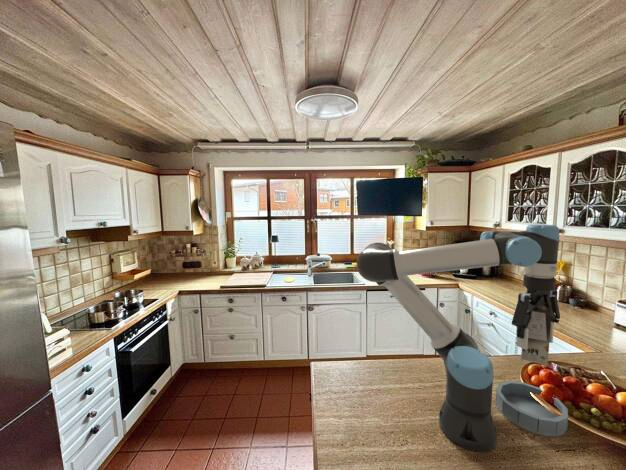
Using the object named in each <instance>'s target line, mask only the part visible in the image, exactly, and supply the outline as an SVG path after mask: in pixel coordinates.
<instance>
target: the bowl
mask: <svg viewBox="0 0 626 470" xmlns="http://www.w3.org/2000/svg"><path fill="white" fill-rule="evenodd" d="M541 389H542V388H541V387H538V386H535V385H532V384H530V383H526V382H522V381H514V380H506V381H503V382H499V383H497V386H496V393H495V403H496V404H495V405H496V407H497V409H498V411H499V412H500V414H501V415H503V417H504V418H506V419H507V420H508V421H509V422H511V423H512V424H514V425H516V426H518V427H519V428H521V429H523V430H525V431H527V432H529V433H532V434H535V435H539V436H543V437H547V438H549V437H550V438H557V437H560V436H561V437H562V436H563V435H564V434H566V432H567V430H568V423H569V422H568V421H569V414H568V413H569V411H568V407H567V406H566V405H565V404H564V403H563V402H562V401H561V400H560V399H559V398H558V397H556V398H554V397H552V398H553V399H554V405H555V406H556V407H557V408H558V409H559V410H560V411H561V412H562V415H561V416H557V415H555V414H553V413H551V412H550V411H548V410H547V409H546V408H545V407H544V406H542V405H541V404H540V403H539V402H538V401H536V400H535V399H534V398H533V397H532V396H531V394H530V392H532V393H534V394H537V395H539V394H541V392H542V390H541Z"/></svg>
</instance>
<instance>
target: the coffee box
mask: <svg viewBox="0 0 626 470" xmlns="http://www.w3.org/2000/svg"><path fill="white" fill-rule="evenodd" d="M529 304H530V303H529ZM529 311H532V314H531V320H530V322H529V324H528V326H527V328H528V329H529V333H528V348H527V350H525V349H523V348H521V352H520V353H521V355H520V359H521V360H524V361H527V362H531V363H535V364H539V365H541V366H545V367H547V366H548V363H549V351H550V342H549V341H550V329H551V316H552V313H551V308H550V307H546V306H542V305H541V306H539V307H538V309H537V310H529V309H528V310H527V313H528V312H529ZM523 324H524V323H523Z"/></svg>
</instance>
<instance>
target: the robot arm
mask: <svg viewBox="0 0 626 470" xmlns="http://www.w3.org/2000/svg"><path fill="white" fill-rule="evenodd" d="M560 241H561V240H560V229H559V227H558V226H557V225H554V224H527V226H526V229H525V230H522V231H517V230H516V231H515V230H514V231H511V230H509V231H508V230H502V231H501V230H489V231H488V230H485V231H483V232H482V233H481V234H480V238H479V240H473V241H467V242H459V243H453V244H446V245H445V244H444V245H439V246H438V245H437V246H436V245H435V246H431V247H423V248H417V249H409V250H402V251H399V250H398V249H396V248H393V249H392V247H390V246H389V245H388V244H386V243H383V242H373V243H370V244H368V245H367V246H366V247H365V248H364V249H363V250H362V251H361V252H360V253H359V255H358V256H357V259H356V269H357V272H358V274H359V275H360V276H361V277H362V278H363V279H365V280H366V281H368V282H371V283H376V284H377V285H378V286H379V287H384V288H386V289H387V290H388V291H389V293H390V294H391V295H392V296H393V297H394V299H396V300H397V302H398V303H399V304H400V305H401V306H402V308H403V309H404V310H405V311H406V312H407V313H408V314H409V316H410V317H411V318H412V319H413V320H414V322H415V323H416V324H417V325H418V326H419V327H420V329H422V331H424V332H425V334H426V336H428V337H429V338H430V346H431V347H432V349H434V351H435V352H436V353H437V354H438V355H439V357H441V359H442V360H443V364H444V370H445V376H446V385H445V399H444V401H443V403H442V406H441V407H440V410H439V414H438V423H439V427H440V429H441V431H442V432H443V434H444V435H445V436H446V437H447V438H448V439H449V440H451V441H452V442H453V443H455V444H457V446H459V447H462V448H464V449H467V450H469V451H473V452H478V453H480V452H481V453H484V452H485V453H486V452H490V451H492V450H493V449H495V448H496V446H497V444H498V430H497V427H496V425H495V424H494V423H495V422H494V419H493V414H492V402H493V401H492V400H493V382H494V379H495V377H494V376H495V374H494V365H493V363H492V360H491V359H490V358H489V357H488V356H487V355H486V354H485V353H484V352H481V351H480V348H479V345H478V344H477V342H476V341H475V339H474V338H473V337H472V336H471V335H470V334H468V333H467V332H465V331H464V330H463V329H462V328H461V327H460V326H459V325H458V324H452V323H450V321H448V319H447V318H446V317H445V316H444V315H443V313H442V312H441V311H439V309H438V308H437V307H436V306H435V305H434V303H432V301H431V300H430V299H429V298H428V296H426V295H425V293H424V292H422V290H421V289H420V288H419V287H418V286H417V284H415V282H413V280H412V279H411V278H410V277H409V276H415V275H425V274H432V273H443V272H451V271H460V270H469V269H470V270H471V269H479V268H486V267H487V268H488V267H496V266H508V265H514V266H516V267H517V266H518V267H523V273H524V275H523V277H522V278H523V281H522V285H523V286H524V288H526V291H525V292H526V293H524V294H523V293H518V294H517V295H518V297H517V303H516V308H515V310H514V314H513V317H512V319H511V320H512V321H511V325H512V326H515V327H516V345H515V346H517V347H519V348H521V349H522V348H523V349H525V350H527V348H528V333H529V329H528V328H527V326H528V324H529V322H530V320H531V314H532V311H529V312H528V313H527V310H528V309H529V310H537V309H538V307H539V306H541V305H542V306H546V307H550V308H551V313H552V316H551V329H550V341H549V344H550V343H551V344H552V343H554V330H555V323H556V324H559V323H560V319H561V314H560V307H559V300H558V291H557V290H556V284H557V283H556V282H557V279H556V276H557V271H558V255H559V247H560ZM529 303H530V304H529ZM523 323H524V324H523Z"/></svg>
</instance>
